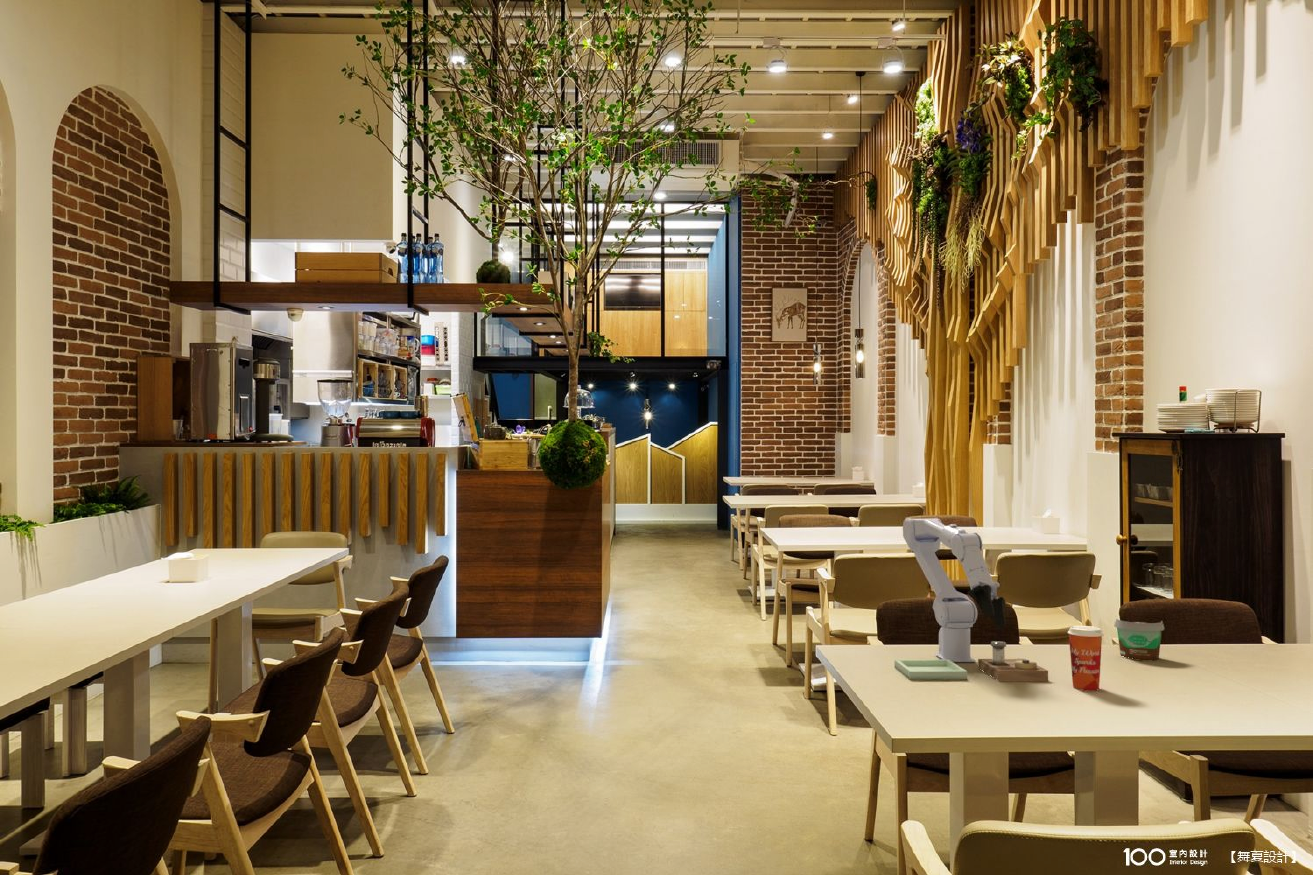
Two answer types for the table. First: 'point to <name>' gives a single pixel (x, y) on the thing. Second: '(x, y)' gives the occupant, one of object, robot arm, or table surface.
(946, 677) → the tray
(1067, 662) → the table surface
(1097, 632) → the paper cup
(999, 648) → the pin
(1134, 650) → the food container
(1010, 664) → the tensioner block
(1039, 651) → the table surface
